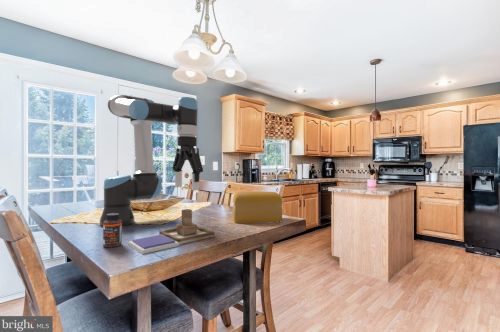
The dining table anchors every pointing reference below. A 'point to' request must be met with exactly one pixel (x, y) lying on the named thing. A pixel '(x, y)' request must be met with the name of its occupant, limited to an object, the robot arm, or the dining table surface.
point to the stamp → (186, 224)
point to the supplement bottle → (112, 230)
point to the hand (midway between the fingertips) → (186, 188)
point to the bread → (257, 207)
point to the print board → (199, 235)
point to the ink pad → (152, 243)
